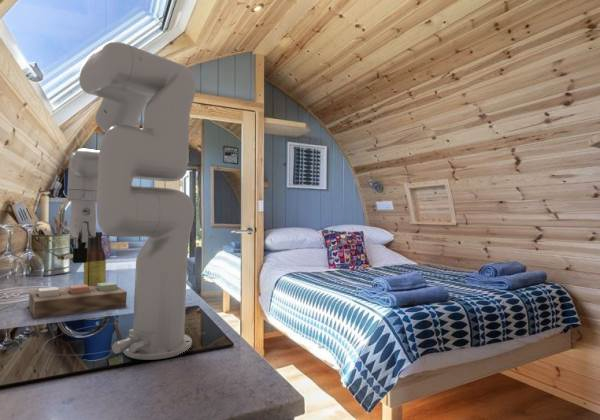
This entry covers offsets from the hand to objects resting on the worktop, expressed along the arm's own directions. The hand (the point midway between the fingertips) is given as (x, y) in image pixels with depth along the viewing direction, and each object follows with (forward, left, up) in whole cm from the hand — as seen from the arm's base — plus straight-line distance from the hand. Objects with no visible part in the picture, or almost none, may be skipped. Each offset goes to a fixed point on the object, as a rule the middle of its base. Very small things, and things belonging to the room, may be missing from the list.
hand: (79, 262), depth 101 cm
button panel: (0, 0, -12) cm, 12 cm away
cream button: (-6, +3, -10) cm, 12 cm away
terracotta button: (0, 0, -10) cm, 10 cm away
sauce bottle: (+14, +10, -12) cm, 21 cm away
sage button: (+6, -4, -10) cm, 12 cm away
